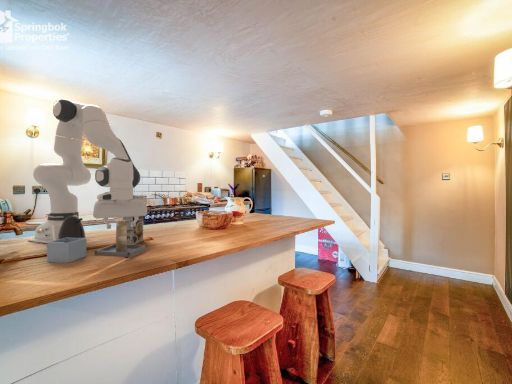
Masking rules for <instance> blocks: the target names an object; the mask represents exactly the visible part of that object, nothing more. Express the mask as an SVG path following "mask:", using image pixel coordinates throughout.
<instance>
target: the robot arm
mask: <svg viewBox="0 0 512 384" xmlns="http://www.w3.org/2000/svg"><path fill="white" fill-rule="evenodd" d="M52 114H53V116H54V117H55V118H56V119H57V120H58V124H57V127H56V130H55V137H54V143H53V151H54V153H55V154H56V155H58V156H59V157H61V158H62V163H63V164H62V163H41V164H38V165H37V166H36V167H35V168H34V170H33V173H32V174H33V175H32V176H33V178H34V180H35V182H36V183H38V184H39V185H41V186H42V187H43V188H44V190H46V192H47V194H48V198H49V202H50V204H49V205H50V213H47V214H45V217H47V220H45V221H44V222H43V223H41V224H40V225H38V226H37V227H35V230H34V236H33V237H29V238H27V241H28V242H33V243H34V242H35V243H42V244H43V243H44V244H47V242H50V241H54V240H57V239H58V234H59V230H60V227H61V225H62V223H63V221H64V220H65V219H66V218H67V217H69V216H76V217H78V218H79V217H80V216H79V215H80V214H79V210H78V205H79V204H78V196H76V194H74V193H71V191H70V190H69V188H68V186H70V187H71V186H74V187H79V186H82V185H86V184H89V183H90V181H91V179H92V173H91V171H90V170H89V168H88V167H86V165H85V164H84V161H83V158H82V147H83V146H82V145H83V139H84V137H85V139H86V140H87V141H88V142H89V143H90V144H92V146H95V147H97V148H101V149H103V150H105V151H108V152H110V153H111V154H113V156H114V157H111V159H110V162H109V163H106V164H105V165H101V166H98V168H97V169H96V170H95V174H94V176H95V177H94V180H95V182H96V183H97V184H98V185H99V186H100V187H104V188H109V191H106V192H102V193H99V194H97V195H96V199H97V200H96V201H95V203H94V205H93V212H92V213H93V214H92V216H93V218H95V219H96V220H97V219H98V220H99V219H103V222H104V224H105V227H106V230H111V229H112V224H111V223H109V222H108V221H109V219H115V218H123V217H134V218H135V220H134V222H131V224H132V225H131V227H136V222H137V220H138V219H139V216H143V217H146V216H147V214H148V208H147V207H148V206H147V204H148V198H147V196H145V195H135V194H134V188H135V187H137V186H138V185H139V183H140V181H141V174H140V172H139V170H138V168H136V166H135V165H134V162H133V160H132V158H131V157H130V154H129V152H128V151H127V148H126V147H125V145H124V143H123V142H122V140H121V139H120V138H118V137H117V136H116V134H115V133H114V132H113V130H112V128H111V126H110V123H109V120H108V118H107V115H106V113H105V112H104V110H103V109H102V107H100V106H98V105H96V104H85V103H81V102H78V101H74V100H73V101H72V100H70V99H66V98H59V99H58V100H55V102H54V104H53V107H52ZM79 219H80V218H79Z"/></svg>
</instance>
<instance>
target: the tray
mask: <svg viewBox="0 0 512 384" xmlns="http://www.w3.org/2000/svg"><path fill="white" fill-rule="evenodd" d="M146 247H147V246H146V245H143V244H141V245H140V244H135V245H127V251H124V252H117V251H116V243H113V244H111V245H107V246H105V247H102V248H99V249H97V250H94V255H98V256H99V255H100V256H115V257H116V256H118V257H124V259H131V258H132V257H135V256H137V255H138V254H141V253H142V252H145V251H146Z"/></svg>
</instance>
